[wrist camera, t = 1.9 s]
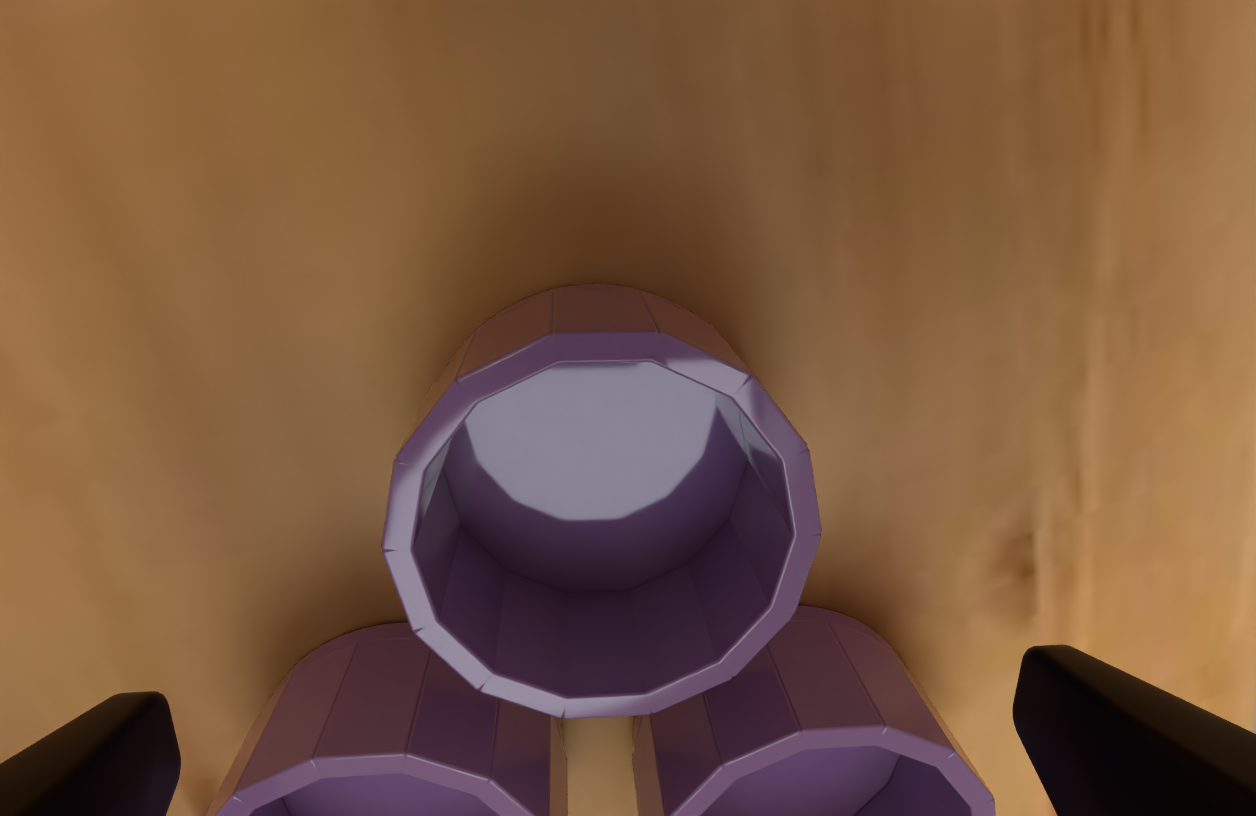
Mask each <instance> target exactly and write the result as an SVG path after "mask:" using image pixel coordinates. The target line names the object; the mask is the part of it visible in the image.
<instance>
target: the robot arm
mask: <svg viewBox="0 0 1256 816" xmlns="http://www.w3.org/2000/svg"><path fill="white" fill-rule="evenodd" d="M1013 720H1014V725H1015V728H1016V731H1017V733H1018V735H1019V737H1020V739H1021V741H1022V744H1023V746H1024V748H1025V750H1026V752H1027V754H1028V756H1029V758H1030V760H1031V762H1032V764H1033V766H1034V768H1035V770H1036V772H1037V774H1038V776H1039V778H1040V780H1041V782H1042V784H1043V786H1044V789H1045V791H1046V793H1047V795H1048V797H1049V799H1050V801H1051V803H1052V805H1053V807H1054V809H1055V811H1056V813H1057V815H1058V816H1256V734H1254V733H1252V732H1250V731H1248V730H1246V729H1244V728H1242V727H1240V726H1238V725H1235V724H1233V723H1231V722H1229V721H1227V720H1225V719H1223V718H1221V717H1219V716H1216V715H1214V714H1212V713H1210V712H1208V711H1206V710H1204V709H1202V708H1200V707H1198V706H1195V705H1193V704H1191V703H1189V702H1187V701H1185V700H1183V699H1181V698H1179V697H1176V696H1174V695H1172V694H1170V693H1168V692H1166V691H1164V690H1162V689H1160V688H1157V687H1155V686H1153V685H1151V684H1149V683H1147V682H1145V681H1143V680H1141V679H1139V678H1136V677H1134V676H1132V675H1130V674H1128V673H1126V672H1124V671H1122V670H1120V669H1117V668H1115V667H1113V666H1111V665H1109V664H1107V663H1105V662H1103V661H1101V660H1098V659H1096V658H1094V657H1092V656H1090V655H1088V654H1086V653H1084V652H1082V651H1080V650H1077V649H1075V648H1073V647H1071V646H1067V645H1045V646H1033V647H1031V648H1029V649H1028V650H1027V651H1026V652H1025V654H1024V656H1023V659H1022V663H1021V668H1020V673H1019V678H1018V683H1017V688H1016V693H1015V698H1014V703H1013ZM180 768H181V757H180V751H179V747H178V743H177V738H176V734H175V730H174V725H173V721H172V717H171V712H170V708H169V704H168V702H167V699H166V698H165V696H164V695H163V694H161V693H159V692H155V691H151V692H132V693H120V694H116V695H114V696H112V697H110V698H108V699H107V700H105V701H103V702H102V703H100V704H98V705H97V706H95V707H93V708H92V709H90V710H89V711H87V712H85V713H84V714H82V715H80V716H79V717H77V718H75V719H74V720H72V721H70V722H69V723H67V724H65V725H64V726H62V727H60V728H59V729H57V730H56V731H54V732H52V733H51V734H49V735H47V736H46V737H44V738H42V739H41V740H39V741H37V742H36V743H34V744H32V745H31V746H29V747H27V748H26V749H24V750H22V751H21V752H19V753H18V754H16V755H14V756H13V757H11V758H9V759H8V760H6V761H4V762H3V763H1V764H0V816H166V813H167V810H168V808H169V805H170V802H171V800H172V797H173V794H174V791H175V789H176V786H177V783H178V780H179V775H180Z"/></svg>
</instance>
